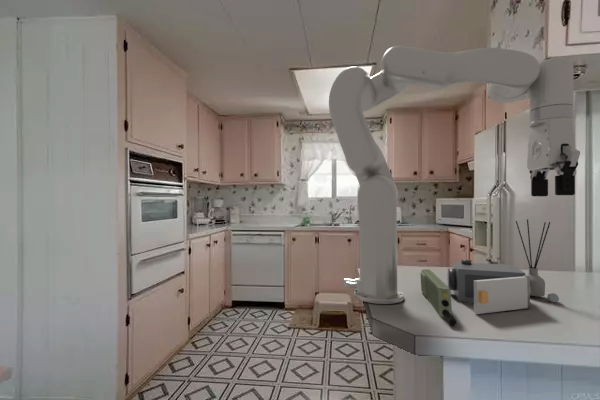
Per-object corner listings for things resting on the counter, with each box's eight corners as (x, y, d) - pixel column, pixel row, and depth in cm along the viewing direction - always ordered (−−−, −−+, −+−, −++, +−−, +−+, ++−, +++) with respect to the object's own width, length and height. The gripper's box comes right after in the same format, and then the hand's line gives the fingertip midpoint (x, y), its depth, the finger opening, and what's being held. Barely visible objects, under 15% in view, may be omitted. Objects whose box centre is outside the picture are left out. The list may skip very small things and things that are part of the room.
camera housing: (451, 300, 77) (450, 264, 77) (447, 290, 86) (446, 257, 87) (525, 307, 72) (525, 268, 72) (512, 295, 81) (512, 261, 81)
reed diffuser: (509, 293, 83) (508, 219, 84) (526, 290, 86) (525, 218, 86) (552, 304, 74) (551, 220, 74) (569, 301, 76) (568, 220, 77)
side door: (526, 306, 72) (525, 275, 72) (535, 309, 70) (534, 277, 70) (473, 312, 68) (473, 279, 68) (481, 315, 66) (481, 281, 66)
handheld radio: (433, 293, 84) (463, 329, 60) (420, 293, 85) (445, 329, 61) (432, 268, 85) (461, 294, 60) (419, 268, 85) (443, 294, 61)
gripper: (514, 128, 77) (514, 196, 77) (553, 107, 60) (554, 194, 60) (548, 126, 75) (549, 196, 75) (599, 104, 59) (600, 194, 58)
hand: (551, 195), depth 68 cm, fingers open, 9 cm apart
